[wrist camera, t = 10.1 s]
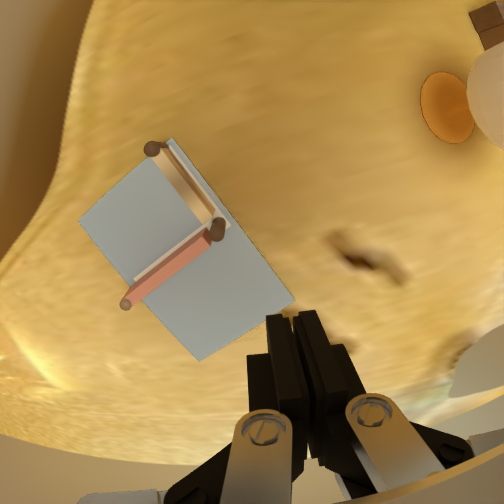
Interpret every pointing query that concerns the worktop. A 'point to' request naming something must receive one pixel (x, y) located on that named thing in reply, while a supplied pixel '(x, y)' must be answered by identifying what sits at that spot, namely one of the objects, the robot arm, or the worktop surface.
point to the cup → (467, 100)
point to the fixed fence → (185, 187)
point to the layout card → (195, 272)
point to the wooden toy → (489, 23)
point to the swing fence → (166, 268)
